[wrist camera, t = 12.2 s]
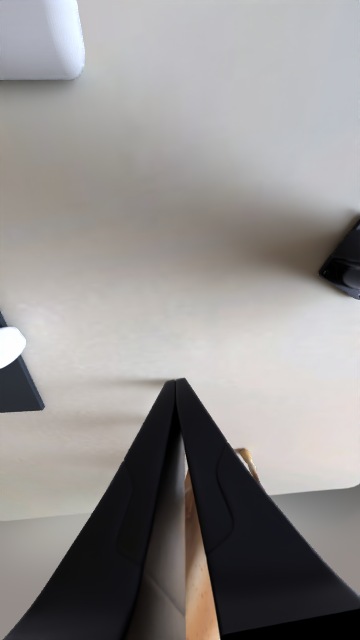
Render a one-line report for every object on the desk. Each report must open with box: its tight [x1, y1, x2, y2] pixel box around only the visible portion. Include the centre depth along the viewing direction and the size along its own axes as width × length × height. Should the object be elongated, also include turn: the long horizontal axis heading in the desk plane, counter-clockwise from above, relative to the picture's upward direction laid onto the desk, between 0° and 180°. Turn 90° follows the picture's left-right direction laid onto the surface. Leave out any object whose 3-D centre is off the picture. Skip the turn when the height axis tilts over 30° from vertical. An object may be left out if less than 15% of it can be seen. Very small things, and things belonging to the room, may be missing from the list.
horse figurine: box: [185, 449, 265, 640], centre depth 20 cm, size 31×8×21 cm, turn 33°
